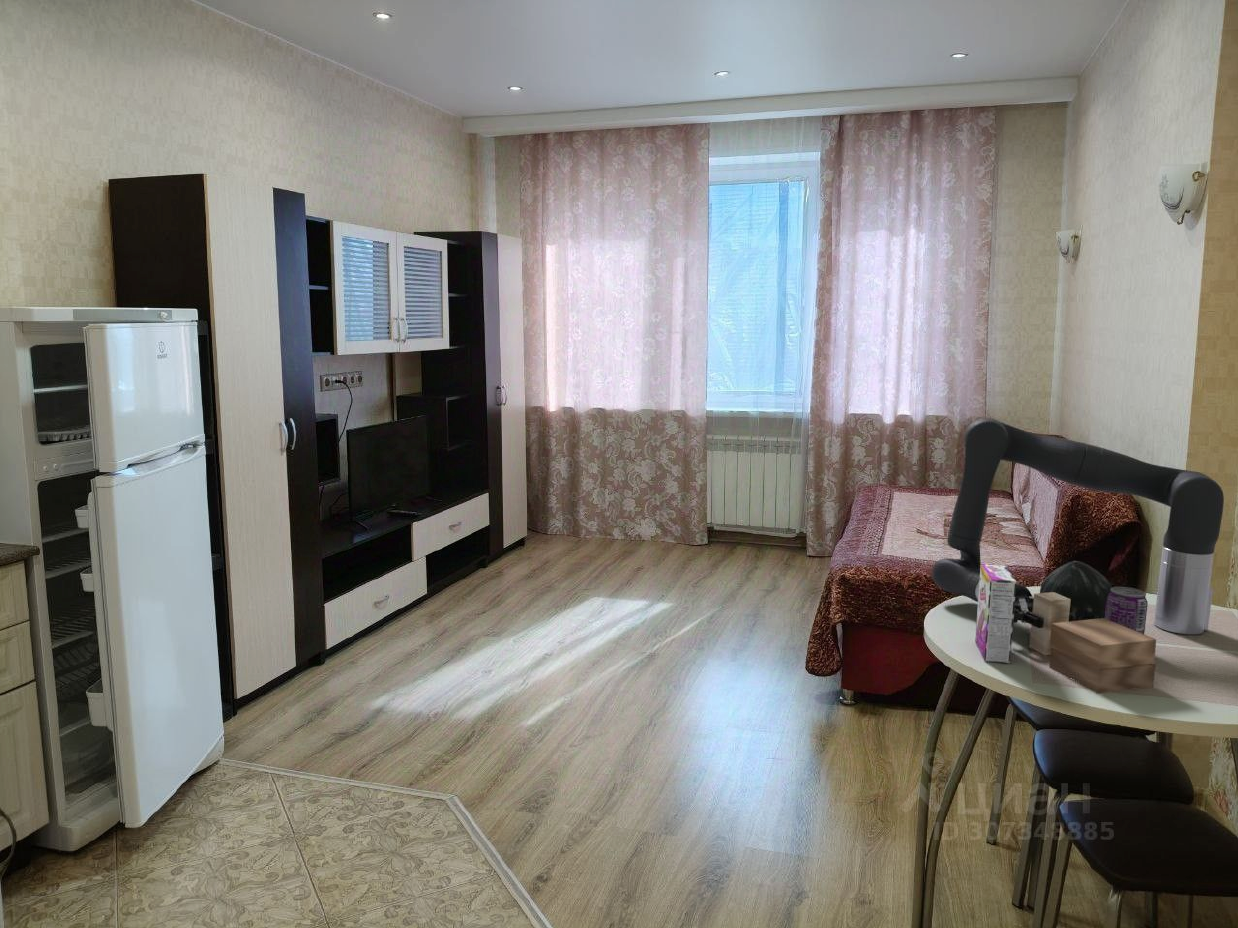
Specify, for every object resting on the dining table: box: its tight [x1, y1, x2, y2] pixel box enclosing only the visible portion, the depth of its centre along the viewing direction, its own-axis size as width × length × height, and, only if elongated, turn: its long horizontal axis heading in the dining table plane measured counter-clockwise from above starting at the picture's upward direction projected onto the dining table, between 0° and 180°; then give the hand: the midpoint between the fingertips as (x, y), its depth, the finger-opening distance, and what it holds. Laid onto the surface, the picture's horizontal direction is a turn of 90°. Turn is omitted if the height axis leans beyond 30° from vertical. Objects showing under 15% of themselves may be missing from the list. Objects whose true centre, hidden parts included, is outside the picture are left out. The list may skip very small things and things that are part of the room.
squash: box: [1039, 560, 1112, 621], centre depth 199 cm, size 14×15×15 cm
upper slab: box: [1050, 618, 1157, 670], centre depth 170 cm, size 12×12×4 cm
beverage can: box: [1105, 586, 1149, 635], centre depth 184 cm, size 7×7×12 cm
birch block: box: [1029, 592, 1071, 656], centre depth 183 cm, size 5×5×11 cm
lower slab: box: [1049, 647, 1157, 694], centre depth 171 cm, size 12×12×4 cm
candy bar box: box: [974, 563, 1018, 664], centre depth 181 cm, size 11×5×16 cm, turn 168°
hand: (1058, 621), depth 181 cm, fingers open, 7 cm apart
